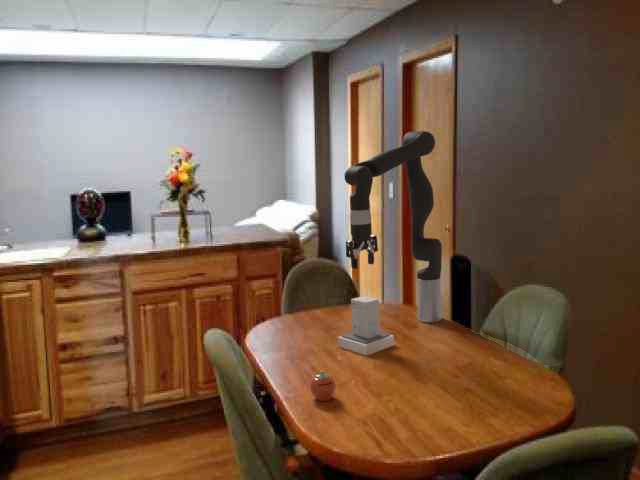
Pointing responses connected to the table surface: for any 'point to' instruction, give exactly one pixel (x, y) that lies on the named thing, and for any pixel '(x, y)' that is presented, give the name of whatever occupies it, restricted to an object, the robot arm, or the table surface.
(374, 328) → the small box
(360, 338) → the stack base
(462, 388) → the table surface
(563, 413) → the table surface
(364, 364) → the table surface
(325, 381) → the tomato
